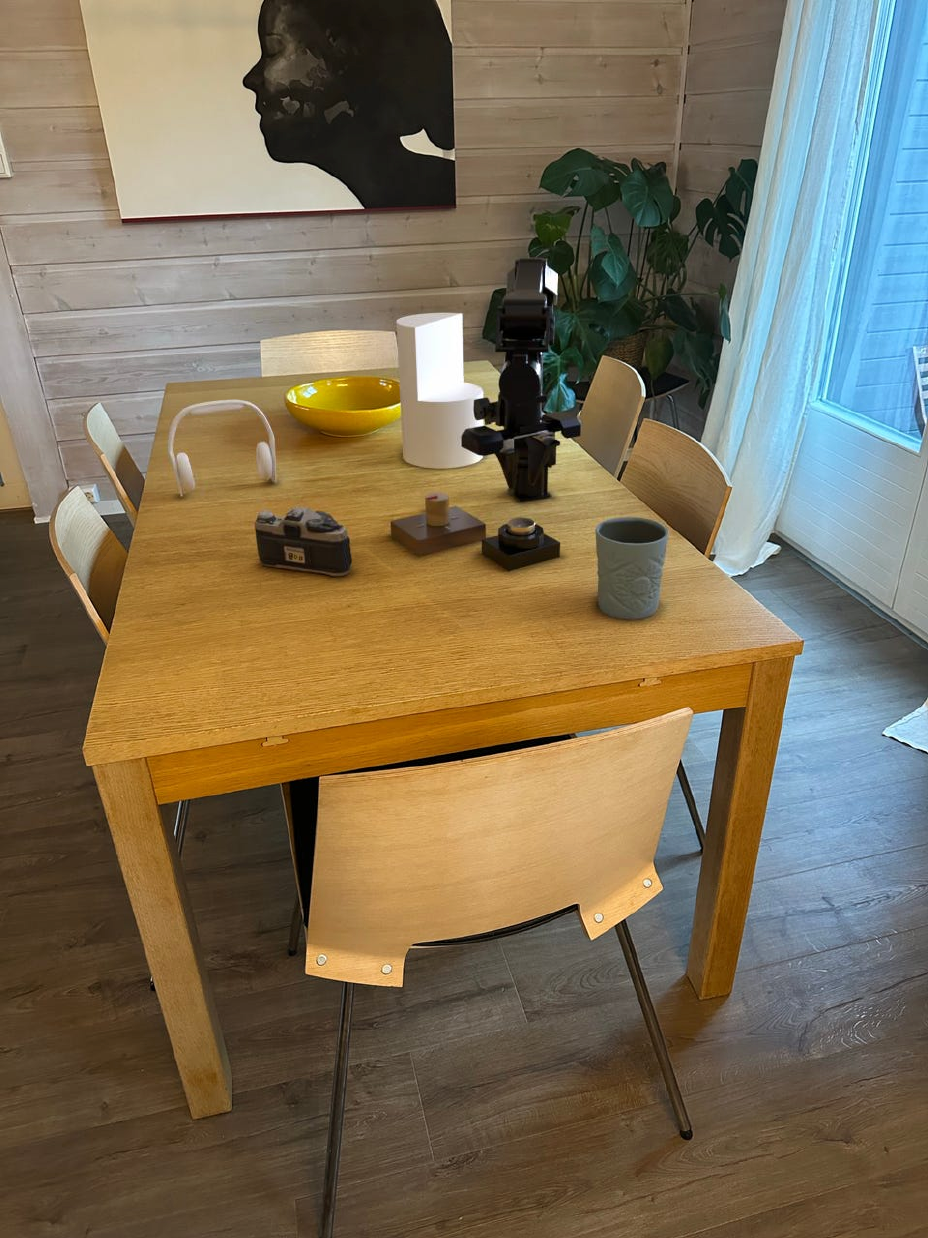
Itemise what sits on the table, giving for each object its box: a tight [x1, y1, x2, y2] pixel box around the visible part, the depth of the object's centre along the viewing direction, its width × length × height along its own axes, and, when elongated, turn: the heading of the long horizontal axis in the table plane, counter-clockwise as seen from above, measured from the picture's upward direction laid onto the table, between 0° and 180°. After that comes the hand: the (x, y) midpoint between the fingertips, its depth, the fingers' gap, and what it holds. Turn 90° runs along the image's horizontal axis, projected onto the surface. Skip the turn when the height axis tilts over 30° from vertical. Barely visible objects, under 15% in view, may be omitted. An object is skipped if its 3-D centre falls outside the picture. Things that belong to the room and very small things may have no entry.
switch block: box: [481, 523, 561, 572], centre depth 146 cm, size 10×8×4 cm
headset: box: [167, 399, 278, 498], centre depth 172 cm, size 20×7×18 cm, turn 112°
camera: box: [254, 505, 353, 577], centre depth 144 cm, size 16×10×10 cm, turn 71°
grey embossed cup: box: [595, 516, 670, 621], centre depth 129 cm, size 10×10×12 cm
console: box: [389, 505, 487, 558], centre depth 153 cm, size 13×10×3 cm
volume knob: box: [424, 492, 450, 526], centre depth 152 cm, size 4×4×5 cm
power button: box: [506, 517, 536, 537], centre depth 145 cm, size 4×4×2 cm
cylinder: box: [396, 312, 484, 470], centre depth 187 cm, size 17×17×28 cm
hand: (521, 486), depth 142 cm, fingers open, 3 cm apart
